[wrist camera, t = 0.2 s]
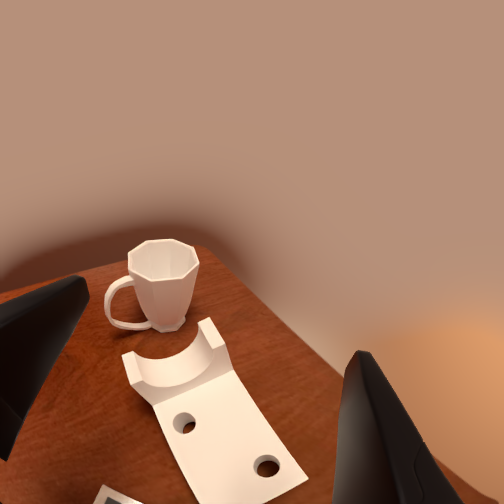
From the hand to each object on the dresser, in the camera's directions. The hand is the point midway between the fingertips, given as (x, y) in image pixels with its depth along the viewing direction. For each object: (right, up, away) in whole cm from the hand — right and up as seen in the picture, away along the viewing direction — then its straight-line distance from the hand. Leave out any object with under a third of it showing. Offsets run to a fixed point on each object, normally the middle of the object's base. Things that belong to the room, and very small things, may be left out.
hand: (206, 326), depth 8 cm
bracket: (-2, -13, +11) cm, 17 cm away
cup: (-9, -6, +21) cm, 23 cm away
